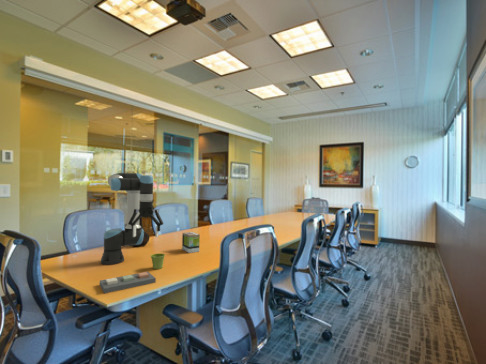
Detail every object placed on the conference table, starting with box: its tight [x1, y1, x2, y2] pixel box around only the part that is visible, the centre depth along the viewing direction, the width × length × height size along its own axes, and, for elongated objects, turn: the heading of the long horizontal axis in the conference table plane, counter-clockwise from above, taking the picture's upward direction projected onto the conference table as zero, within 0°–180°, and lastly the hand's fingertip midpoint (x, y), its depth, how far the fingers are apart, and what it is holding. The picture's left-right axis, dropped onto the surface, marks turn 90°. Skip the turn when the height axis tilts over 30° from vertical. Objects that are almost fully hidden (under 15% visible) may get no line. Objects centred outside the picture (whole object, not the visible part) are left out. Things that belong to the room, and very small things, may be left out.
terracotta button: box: [137, 271, 149, 279], centre depth 159 cm, size 5×5×2 cm
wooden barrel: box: [132, 216, 150, 247], centre depth 245 cm, size 18×18×28 cm
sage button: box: [122, 274, 134, 282], centre depth 154 cm, size 5×5×2 cm
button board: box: [99, 271, 157, 294], centre depth 154 cm, size 14×27×2 cm, turn 127°
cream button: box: [106, 277, 118, 285], centre depth 149 cm, size 5×5×2 cm
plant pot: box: [150, 253, 166, 270], centre depth 183 cm, size 9×9×9 cm
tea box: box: [181, 231, 201, 254], centre depth 230 cm, size 15×10×15 cm
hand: (145, 236), depth 160 cm, fingers open, 13 cm apart
